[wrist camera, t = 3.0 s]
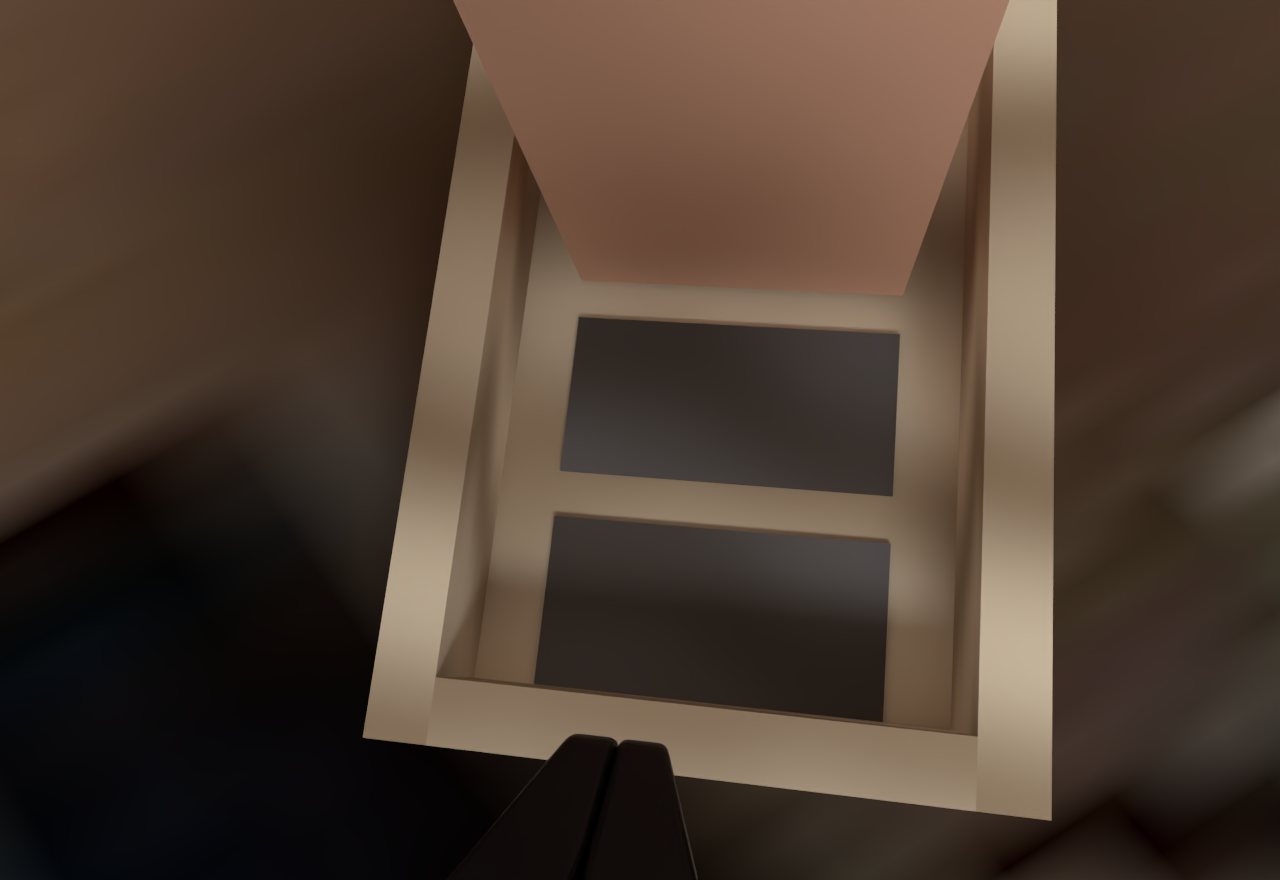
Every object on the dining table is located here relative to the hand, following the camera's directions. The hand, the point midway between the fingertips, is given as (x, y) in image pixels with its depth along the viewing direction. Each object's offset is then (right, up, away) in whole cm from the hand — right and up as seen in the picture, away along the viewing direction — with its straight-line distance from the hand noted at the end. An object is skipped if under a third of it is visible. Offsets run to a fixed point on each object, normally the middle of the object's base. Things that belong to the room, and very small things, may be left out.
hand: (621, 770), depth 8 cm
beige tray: (+3, +8, +15) cm, 17 cm away
